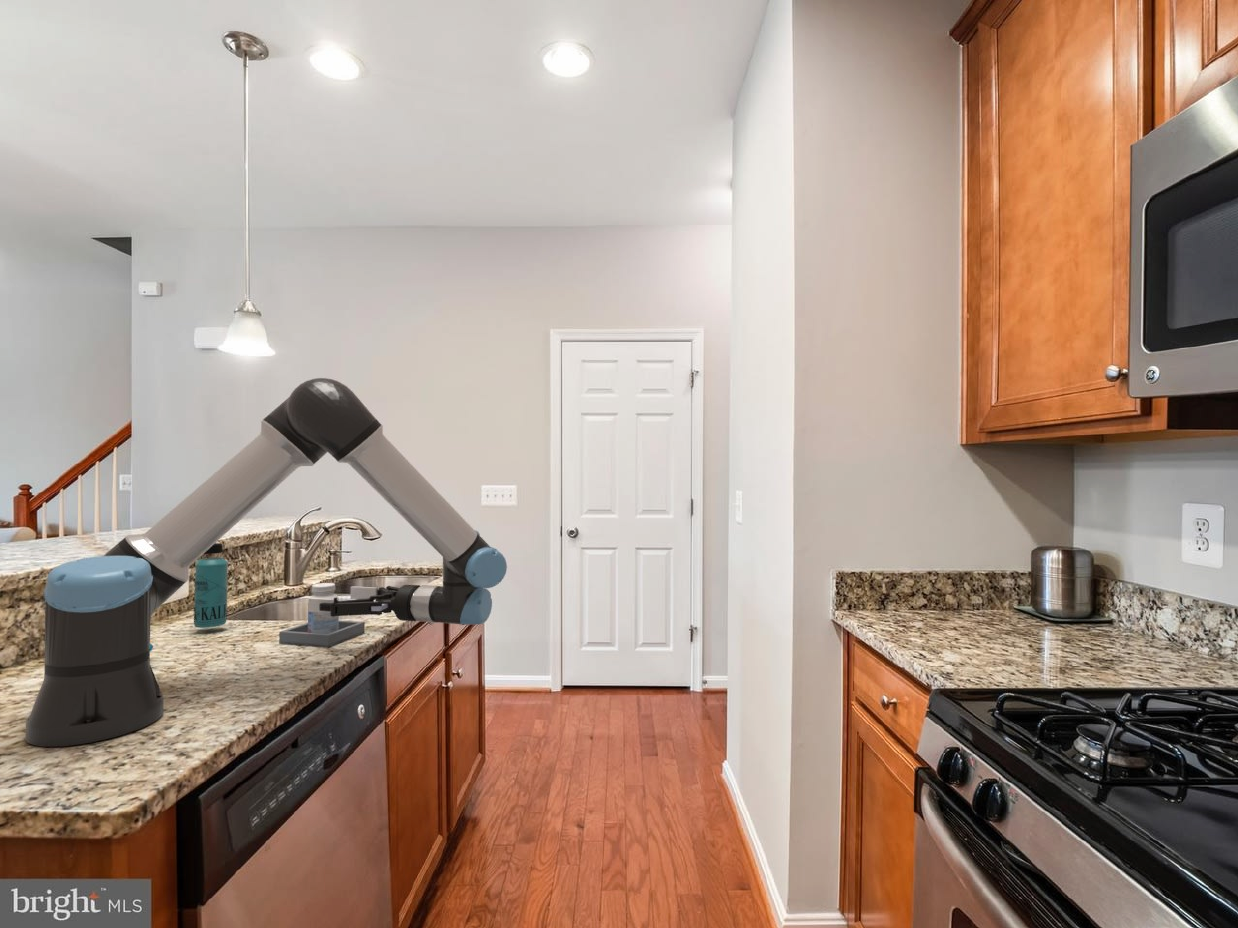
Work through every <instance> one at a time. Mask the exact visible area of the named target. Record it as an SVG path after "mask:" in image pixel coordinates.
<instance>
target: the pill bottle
mask: <svg viewBox="0 0 1238 928" xmlns="http://www.w3.org/2000/svg"><path fill="white" fill-rule="evenodd" d="M335 592H336V584H335V583H334V582H324V583H323V582H321V583H316V584H312V585H311V593H312V594H313V595H311V596H310V597H309V598H321V599H334V598H336V597H337V599H338V601H340V600H339V596H338V594H336V593H335ZM307 607H308V608H307V610H308V609H309V599H308V602H307ZM339 617H340V616H334V617H332V616H331V613H322V612H308V611H307V623H308V633H321V634H329V633H332V632H334V631H337V630H339V620H340V619H339Z"/></svg>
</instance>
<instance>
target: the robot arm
mask: <svg viewBox="0 0 1238 928" xmlns="http://www.w3.org/2000/svg"><path fill="white" fill-rule="evenodd" d="M260 422H261V423H260V424H261V426H260V428H261V430H260V433H259V434H258V435H257V436H256V437H255V438H254V439H253V440H251V441H250V442H248V444H247V445H246V446H245V447H243V448H241V450H240V451H239V452H238V453H236V454H235V455H234V456H233V457H232V458H230V459H229V460H228V461H227V462H226V463H225V464H224V465H222V466H221V467H220V468H218V470H217V471H215V472H214V473H213V474H212V475H211V476H209V477H208V478H207V479H206V480H205V481H203V483H201V484H200V485H199V486H198V487H197V488H195V489H194V490H193V491H192V492H191V493H190V494H189V495H188V496H187V497H185V498H184V499H183V500H182V501H180V502H179V503H178V504H177V505H176V506H175V507H174V508H173V509H171V510H170V511H169V512H167V514H165V516H163V517H162V518H161V519H159V520H158V522H156V523H155V524H154V525H153V526H151V527H150V529H148V530H147V531H145V533H139V534H138V533H137V534H127V535H126V536H125V537H124V538H123V539H121V540H120V541H119V542H118V543H117V544H115V545H114V546H113V547H112V548H111V549H110V550H108V551H107V552H106V553H105V554H104V555H102V556H94V557H93V556H91V557H86V558H85V557H84V558H80V559H77V560H74V561H68V562H64V563H61V564H59V565H57V566H56V567H54V568H53V569H51V571H50V572H49V573H48V575H47V577H46V582H45V583H46V585H45V587H44V591H43V596H44V600H45V612H44V614H45V615H44V616H45V617H44V676H43V677H44V678H43V681H42V684H41V686H40V689H39V690H38V693H37V696H36V698H35V700H34V703H33V707H32V709H31V711H30V715H29V716H28V717H27V719H26V723H25V741H26V743H28V744H30V745H32V746H38V747H67V746H78V745H85V744H88V743H95V742H98V741H103V740H104V741H105V740H109V739H112V738H117V737H120V736H123V735H126V734H129V733H132V732H134V731H137V730H141V729H143V728H145V727H147V726H149V725H151V724H153V723H155V722H156V721H157V720H159V719H160V718H161V717H162V716H163V715H164V702H165V701H164V695H163V693H162V691H161V690H160V686H159V684H158V680H157V678H156V676H155V673H154V670H153V667H152V666H151V653H150V652H151V651H150V644H151V616H152V615H153V613H154V612H155V611H157V609H158V610H159V608H160V607H161V606H162V605H163V604H164V603H165V602H167V600H169V599H170V598H171V597H172V596H173V595H174V594H175V593H176V592H177V591H178V590H179V589H181V587H183V585H184V584H186V583H187V582H188V581H189V579H190V577H189V576H190V574H189V572H190V571H189V569H190V567H191V566H192V564H194V563H195V562H196V561H197V560H198V559H199V558H200V557H201V556H203V555H205V554H204V553H205V552H206V551H207V550H208V549H209V548H210V547H211V546H212V545H214V544H215V543H217V542H218V541H219V540H220V539H221V538H222V537H224V535H226V534H227V533H228V532H229V531H230V530H231V529H233V528H234V527H235V525H237V523H239V522H240V521H241V520H242V519H243V518H244V517H245V516H247V514H249V513H250V512H251V511H252V510H253V509H254V508H255V507H257V505H259V504H260V502H262V501H263V500H264V499H265V498H267V497H268V495H270V494H271V493H272V492H273V491H274V490H275V489H276V488H277V487H279V486H280V484H282V483H283V482H284V481H285V480H286V479H287V478H288V477H289V476H291V474H292V473H294V472H295V471H296V470H297V469H298V468H299V467H301V468H302V467H313V466H314V465H315V464H316V463H317V462H319V460H320V459H322V458H323V457H324V456H325V455H326V454H327V453H328V454H329V455H330V456H331V457H332V458H334V459H335V460H336V461H337V463H343V464H348V465H349V466H350V467H351V468H352V469H353V470H355V471H356V473H358V475H359V476H361V478H363V479H364V481H366V482H367V483H368V484H369V486H370V487H372V488H373V489H374V490H375V492H377V493H378V495H380V496H381V497H382V498H383V499H384V500H385V501H386V502H387V503H388V505H390V506H391V508H393V509H394V510H395V511H396V513H398V514H399V515H400V516H401V518H403V519H404V520H405V521H406V522H407V523H408V524H409V525H410V526H411V527H412V528H413V529H414V530H415V531H416V532H417V533H418V534H419V535H420V536H421V537H422V538H423V539H424V540H425V541H426V542H428V544H430V546H432V547H433V549H434V550H436V552H437V553H438V554H439V555H441V557H442V585H429V584H427V585H426V584H425V585H424V584H423V585H421V584H403V585H402V586H400V587H396V586H391V585H388V586H386V587H383V586H382V587H375V586H374V587H373V586H372V587H370V586H355V585H353V586H350V599H345V600H339V601H338V599H337V597H336V598H334V599H321V598H310V597H309V598H308V600H309V609H308V608H307V613H308V612H322V613H331V616H332V617H334V616H339V617H345V616H364V615H365V616H369V615H371V616H372V615H375V616H380V615H382V614H389V613H392V611H393V613H394V615H395V617H396V618H397V619H398V620H399V621H403V622H421V623H423V622H424V623H426V622H427V623H428V624H429V625H431V626H432V625H434V623H438V624H439V623H441V624H450V625H451V624H452V625H453V624H454V625H462V626H467V625H468V626H469V625H470V626H471V625H474V626H477V625H483V624H484V623H486V622H487V621H488V619H489V617H490V615H491V612H492V607H493V599H492V594H491V592H490V590H489V589H491V588H494V587H496V586H498V585H499V584H500V583H501V582H502V581H503V579H504V578H505V576H506V574H507V569H508V565H507V561H506V558H505V556H504V555H503V554H502V553H501V552H500V551H499V550H498V549H497V548H494V547H491V545H489V544H488V543H487V541H485V540H484V538H483V537H481V536H480V531H478V530H475V529H474V528H473V527H472V525H471V524H469V522H467V521H466V520H465V519H464V518H463V516H462V515H461V514H460V513H459V512H458V511H457V510H456V509H455V508H454V507H453V506H452V505H451V504H450V502H448V501H447V500H446V499H445V497H444V496H442V495H441V493H439V491H438V490H436V488H435V487H434V486H433V485H432V484H431V483H430V482H429V481H428V480H427V479H426V478H425V477H424V476H423V475H422V474H421V473H420V472H419V470H417V468H416V467H415V466H414V465H413V464H412V463H411V462H410V461H409V460H408V459H407V458H406V457H405V456H404V455H403V454H402V452H400V451H399V450H398V449H397V448H396V447H395V445H394V444H392V442H391V441H389V440H388V439H387V437H386V436H385V435H384V434H383V432H384V431H383V430H384V429H383V428H384V427H383V425H382V424H381V422H380V421H379V420H377V418H376V417H375V416H374V415H373V414H372V413H371V411H370V410H369V409H368V408H367V407H366V406H365V404H364V403H363V402H362V400H361V399H359V397H358V396H357V395H356V394H355V393H354V392H353V390H351V389H350V388H349V387H348V386H347V385H345V384H343V383H342V382H341V381H338V380H336V379H332V378H326V377H317V378H312V379H308V380H306V381H304V382H302V383H300V384H299V385H298V386H296V388H294V390H292V392H291V393H290V395H289V397H287V398H286V399H285V400H284V401H283V402H281V404H279V405H278V406H277V407H276V408H275V409H274V410H273V411H271V412H270V413H269V414H268V415H266V416H265V417H264V418H263V419H262V420H261V421H260Z"/></svg>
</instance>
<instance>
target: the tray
mask: <svg viewBox="0 0 1238 928" xmlns="http://www.w3.org/2000/svg"><path fill="white" fill-rule="evenodd" d="M365 623H366V622H365V621H351V620H340V619H339V630H337V631H334V632H332V633H329V634H321V633H308V622H306V623H302V624H299V625H297V626H293V627H290V628H287V629H284V630H281V631H279V634H278V636H279V639H278V644H279V645H280V644H281V645H289V646H290V645H292V646H293V645H294V646H302V647H316V648H318V647H319V648H327V649H328V648H331V647H333V646H336V645H339V644H341V643H343V642H346V641H348V640H350V639H353V638H356V637H358V636H361V635H364V634H365V628H366V625H365Z"/></svg>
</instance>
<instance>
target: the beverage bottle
mask: <svg viewBox="0 0 1238 928" xmlns="http://www.w3.org/2000/svg"><path fill="white" fill-rule="evenodd" d="M223 551H224V550H223V544H222V543H217V542H216V543H215V544H214V545H212V546H211V547H210V548H209V549H208V550H207V551H206V552H205V553H204V554H203V555H206V554H208V555H209V554H222V553H223ZM228 565H229V563H228V560H226V559H224V558H223V557H206V558H205V557H204V558H201V559H199V560H198V561H197V562H196V563H195V572H194V573H195V579H194V589H193V590H194V594H193V595H194V600H193V602H194V605H193V615H192V616H193V621H192V622H193V624H194V627H195V628H198V629H202V628H203V629H207V628H214V627H220V626H223V625H226V624H227V619H228V593H229V592H228Z"/></svg>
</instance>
